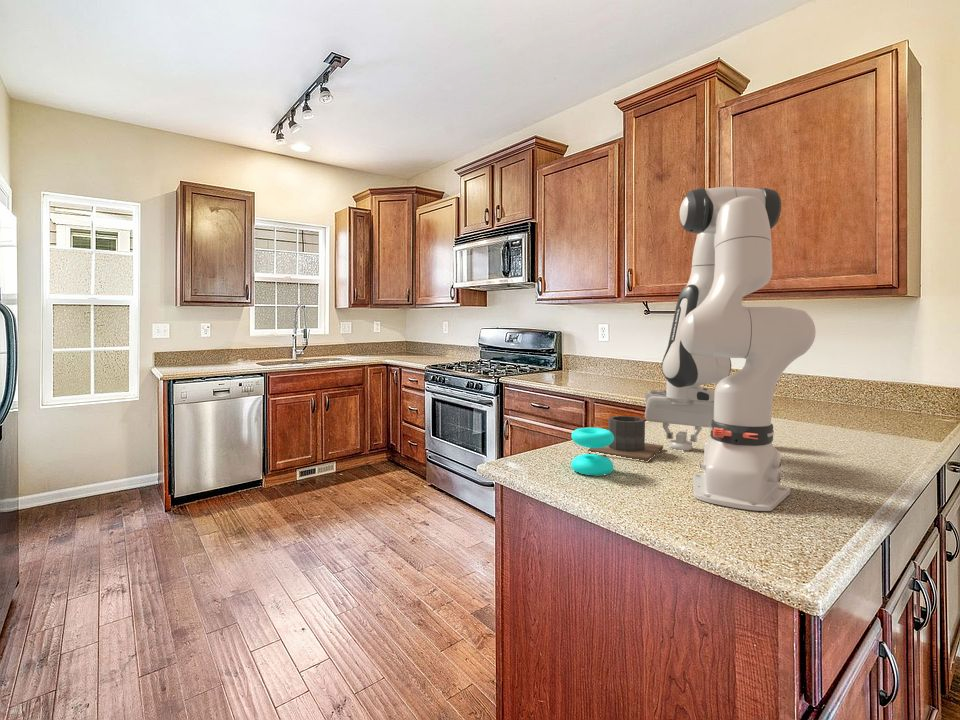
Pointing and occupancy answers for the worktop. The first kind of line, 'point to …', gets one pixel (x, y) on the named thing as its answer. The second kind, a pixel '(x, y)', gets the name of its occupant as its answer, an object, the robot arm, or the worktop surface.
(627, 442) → the cylinder on base plate
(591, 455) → the donuts
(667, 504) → the worktop surface
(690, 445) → the block on round base
